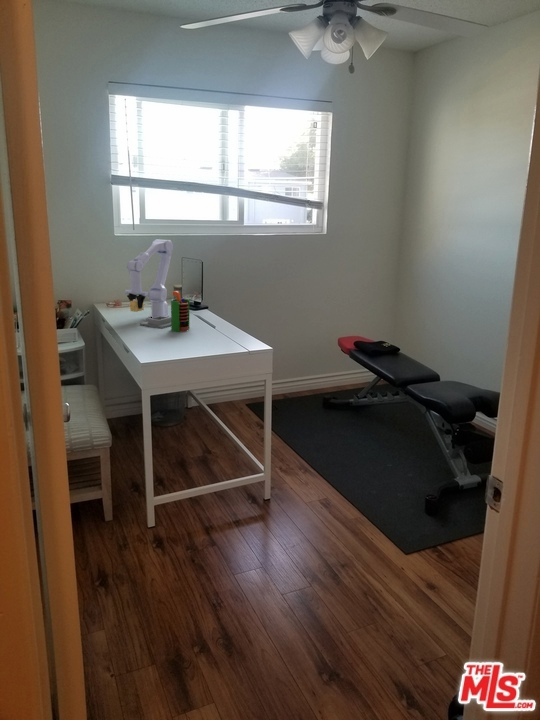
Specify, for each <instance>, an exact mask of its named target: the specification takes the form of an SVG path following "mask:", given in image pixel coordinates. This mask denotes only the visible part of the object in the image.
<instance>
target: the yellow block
mask: <svg viewBox="0 0 540 720" xmlns="http://www.w3.org/2000/svg"><path fill="white" fill-rule="evenodd" d="M145 306H146V303H143V305H142V308H141V309H139V308H138V302H137V298H136V299H133V301H130V300H129V305H128V307H127V308H129V309H130V312H136V313H137V312H142V311H144V307H145Z"/></svg>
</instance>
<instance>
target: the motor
mask: <svg viewBox="0 0 540 720" xmlns="http://www.w3.org/2000/svg"><path fill="white" fill-rule="evenodd" d="M172 296H176V298H172V299H171V300H170V317H171V326H170V328H171V329H170V330H171V331H173V332H175V333H179V332H180V331H182V332H187V330H188V331H189V329H190V299H189V298H181V293H180V291H179V290H174V291H172Z"/></svg>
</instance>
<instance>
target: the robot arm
mask: <svg viewBox="0 0 540 720" xmlns="http://www.w3.org/2000/svg"><path fill="white" fill-rule="evenodd" d="M173 249H174V244H173V242H172V240H170V239H159V238H157V239H154V240H153V241H152V243H151V245H150V246H149V248H147V250H146V251H145V252H144V251H142V252H139V255H137V256H135V258H134V259H133V260H129V261H128V263H127V265H126V269H127V271H128V273H129V281H130V289H125V290H124V295H125V294H126V296H127V298H128V300H129V302H130V301H133V299H136V300H137V302H138V308H139V309H141V308H142V305H143V304H144V301H145V299H146V297H147V298H148V300H149V302H150V306H151V307H150V310H151V315H149V316H148V318H151V317H152V318H153V317H157V316H164V317H170V315H169V305H168V303H167V301H166V300H167V298H168V294H167V293H168V290H167V288H166V287H165V283H166V279H167V276H168V272H169V268H170V262H171V258H172V254H173ZM156 253H157V255H159V257H160V260H159V265H158V268H157V273H156V277H155V281H154V283H153V285H151V286H150V289H149V290H148V291H143V290H142V289H143V288H142V273H141V272H142V271H143V270H144V266H145V265H146V264H147V263H148V262H150V258H151V257H152V256H153V255H154V254H156Z"/></svg>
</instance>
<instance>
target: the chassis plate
mask: <svg viewBox="0 0 540 720" xmlns="http://www.w3.org/2000/svg"><path fill="white" fill-rule="evenodd" d="M139 325H140V326H143V325H144V326H145V327H149V326H151V328H156V327H157V329H166V328H169V327H170V328H171V316H167V317H164V316H157V317H153V318H151V317H148V318H147V321H143V322H141V323H139ZM165 327H166V328H165Z"/></svg>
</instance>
